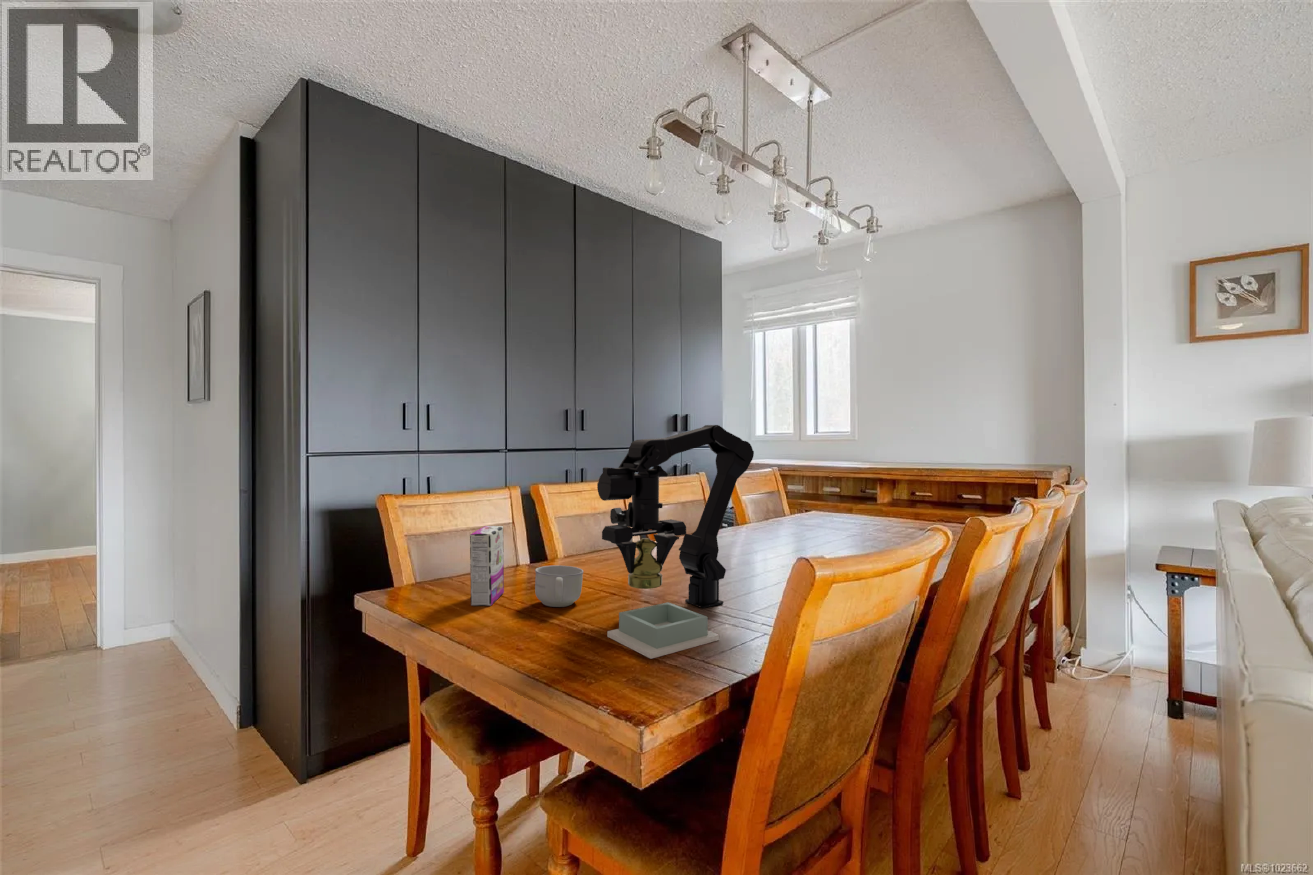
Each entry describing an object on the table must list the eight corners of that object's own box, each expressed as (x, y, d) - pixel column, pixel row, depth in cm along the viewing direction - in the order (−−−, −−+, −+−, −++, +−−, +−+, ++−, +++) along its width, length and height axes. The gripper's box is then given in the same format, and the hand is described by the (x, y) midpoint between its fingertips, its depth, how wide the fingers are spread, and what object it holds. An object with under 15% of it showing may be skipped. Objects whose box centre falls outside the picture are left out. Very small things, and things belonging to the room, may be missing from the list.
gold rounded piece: (620, 584, 129) (621, 538, 129) (646, 579, 134) (647, 534, 134) (643, 591, 123) (643, 543, 123) (669, 585, 128) (669, 538, 128)
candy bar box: (483, 593, 145) (484, 525, 145) (504, 593, 145) (504, 525, 145) (468, 606, 134) (469, 533, 134) (491, 606, 134) (491, 533, 134)
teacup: (540, 597, 142) (541, 563, 142) (586, 597, 142) (586, 563, 142) (526, 614, 128) (526, 577, 128) (576, 615, 128) (576, 578, 128)
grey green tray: (672, 621, 124) (672, 599, 124) (718, 640, 113) (719, 616, 113) (607, 636, 115) (607, 613, 115) (650, 658, 104) (650, 632, 104)
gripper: (657, 492, 141) (657, 559, 141) (588, 497, 129) (588, 569, 129) (688, 496, 132) (687, 567, 132) (616, 502, 120) (616, 579, 121)
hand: (645, 570), depth 129 cm, fingers closed on gold rounded piece, 7 cm apart
